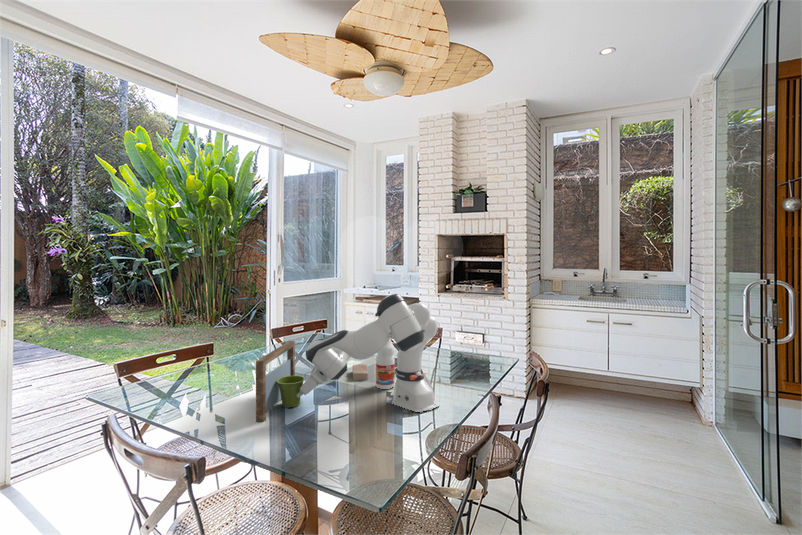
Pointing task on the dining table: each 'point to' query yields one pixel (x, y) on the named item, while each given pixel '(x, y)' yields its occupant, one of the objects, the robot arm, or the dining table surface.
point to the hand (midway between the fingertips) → (301, 392)
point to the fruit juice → (385, 367)
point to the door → (275, 383)
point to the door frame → (262, 376)
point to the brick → (360, 372)
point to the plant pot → (290, 390)
